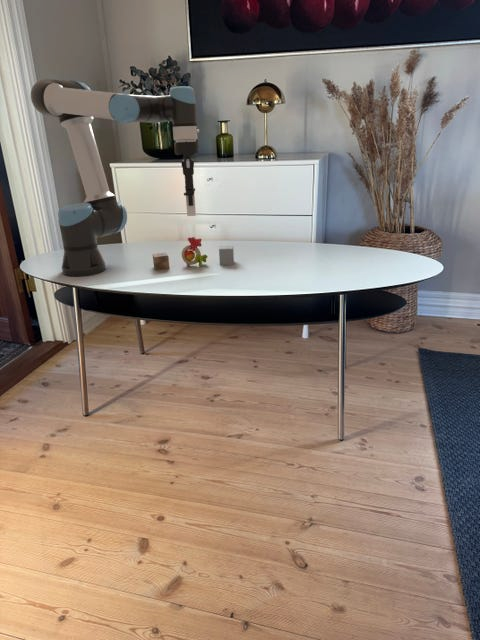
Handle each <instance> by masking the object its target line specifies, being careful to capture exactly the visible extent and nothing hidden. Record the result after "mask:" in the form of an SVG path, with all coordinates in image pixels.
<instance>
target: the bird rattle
mask: <svg viewBox="0 0 480 640" xmlns="http://www.w3.org/2000/svg"><path fill="white" fill-rule="evenodd" d="M187 242H188V243H189V244H188V245H186V246H185V247H183V248H182V251H181V258H182V261H183V262H184V263H185V265H186V266H187V267H189V266H193V265H196V264H197V263H198V267H199V268H201V267H202V265H203V263H207V259H208V255H207V254H201V251H200V248H198V247H202V238H197V239H196V238H195V237H194V236H192V237H187Z"/></svg>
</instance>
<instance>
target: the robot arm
mask: <svg viewBox="0 0 480 640" xmlns="http://www.w3.org/2000/svg"><path fill="white" fill-rule="evenodd" d="M30 100H31V103H32V106H33V107H34V108H35V110H36V111H37V112H39V114H42V115H44V116H46V117H52V118H53V117H54V118H58V120H59V124H60V126H61V127H63V129H64V128H65V129H66V132H67V134H68V136H67V137H68V138H69V141H70V145H71V148H72V153H73V155H74V158H75V163H76V165H77V169H78V173H79V175H80V179H81V181H82V185H83V188H84V192H85V196H86V198H85V199H84V201H83V202H77V203H75V204H73V203H71V204H68V205H65V206H63V207H61V208H60V209H59V210H58V213H57V214H58V216H57V217H58V226H59V229H60V235H61V241H62V246H63V256H62V264H61V271H62V274H63V275H64V276H69V277H83V276H90V275H91V276H92V275H96V274H98V273H102V272H105V271H106V269H107V268H106V262H105V259H104V258H103V256H102V254H101V252H100V250H99V247H98V240H97V239H99V238H102V237H106V236H109V235H110V236H111V235H115V234H117V233H119V232H120V233H121V231H123V230H124V228H125V227H126V225H127V222H128V212H127V210H126V207H125V205H124V204H122V202H120V201H118V200H117V197H116V195H115V194H114V193H112V192H111V191H110V188H109V185H108V182H107V181H108V180H107V177H106V173H105V170H104V166H103V164H102V160H101V159H102V158H101V156H100V153H99V148H98V145H97V142H96V138H95V135H94V132H93V128H92V123H93V121H94V118H96V119H97V118H99V119H106V120H113V121H117V122H119V123H125V124H127V123H128V124H130V123H149V124H152V123H153V124H156V123H167V122H172V134H173V135H172V136H173V141H175V142H174V143H173V145H174V146H173V147H174V154H175V155H177V156H183V158H182V160H181V168H182V175H183V176H184V183H185V184H184V185H185V186H184V188H185V189H184V190H185V192H183V196H184V197H185V204H186V212H187V213H186V215H187V217H196V216H197V213H196V199H195V192H196V187H194V185H195V184H194V173H195V170H194V169H195V168H194V166H195V162H194V159H192V156H191V155H198V154H199V153H200V151H199V143H198V141H197V140H198V139H199V138H198V133H199V132H200V129H197V128H198V126H197V125H198V123H197V106H196V105H197V102H196V93H195V89H194V88H193V87H192V86H185V85H184V86H174V87H173V86H172V87H170V88H169V95H157V96H156V95H142V94H141V95H139V94H128V93H118V92H117V93H116V92H110V91H99V90H91V88H90V87H89V86H88V85H86V83H84V82H80V81H76V80H66V79H65V80H62V79H52V78H43V79H40V80H38V81H36V83H34V85H32V87H31V89H30Z"/></svg>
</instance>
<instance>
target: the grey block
mask: <svg viewBox="0 0 480 640" xmlns="http://www.w3.org/2000/svg"><path fill="white" fill-rule="evenodd" d="M234 253H235V252H234V245H219V248H218V255H219V266H232V265H234V264H235V257H234V256H235V255H234Z"/></svg>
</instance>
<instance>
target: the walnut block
mask: <svg viewBox="0 0 480 640" xmlns="http://www.w3.org/2000/svg"><path fill="white" fill-rule="evenodd" d="M152 260H153V261H152V262H153V269H154V270H155V271H164V270H170V258H169V254H168V252H161V253H152Z"/></svg>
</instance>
